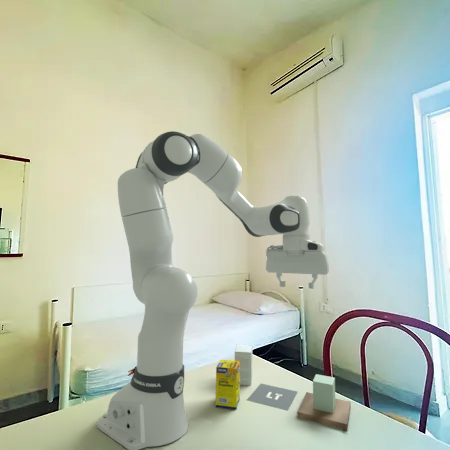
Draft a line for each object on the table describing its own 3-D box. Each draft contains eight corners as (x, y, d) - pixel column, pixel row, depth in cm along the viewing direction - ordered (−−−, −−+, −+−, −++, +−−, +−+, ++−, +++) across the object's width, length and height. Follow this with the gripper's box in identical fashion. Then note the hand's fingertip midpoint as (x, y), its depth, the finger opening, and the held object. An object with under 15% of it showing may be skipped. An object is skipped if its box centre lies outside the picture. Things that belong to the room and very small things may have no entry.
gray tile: (246, 400, 85) (246, 399, 85) (260, 384, 96) (260, 383, 96) (287, 411, 80) (287, 410, 80) (297, 392, 90) (297, 391, 90)
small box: (236, 374, 103) (236, 343, 103) (252, 376, 102) (252, 344, 103) (233, 385, 95) (234, 351, 96) (251, 386, 94) (251, 352, 95)
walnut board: (297, 417, 76) (297, 411, 77) (306, 397, 87) (306, 392, 87) (347, 430, 71) (347, 424, 71) (350, 407, 82) (350, 401, 82)
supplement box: (236, 410, 80) (237, 368, 81) (215, 408, 81) (215, 366, 82) (240, 399, 85) (240, 360, 86) (219, 397, 87) (220, 359, 88)
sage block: (313, 408, 78) (312, 381, 79) (316, 400, 83) (316, 374, 83) (333, 413, 76) (332, 385, 77) (335, 404, 80) (334, 377, 81)
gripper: (263, 245, 100) (263, 286, 99) (326, 245, 91) (327, 290, 90) (269, 245, 105) (269, 284, 104) (329, 245, 96) (330, 288, 95)
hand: (296, 287), depth 97 cm, fingers open, 8 cm apart
